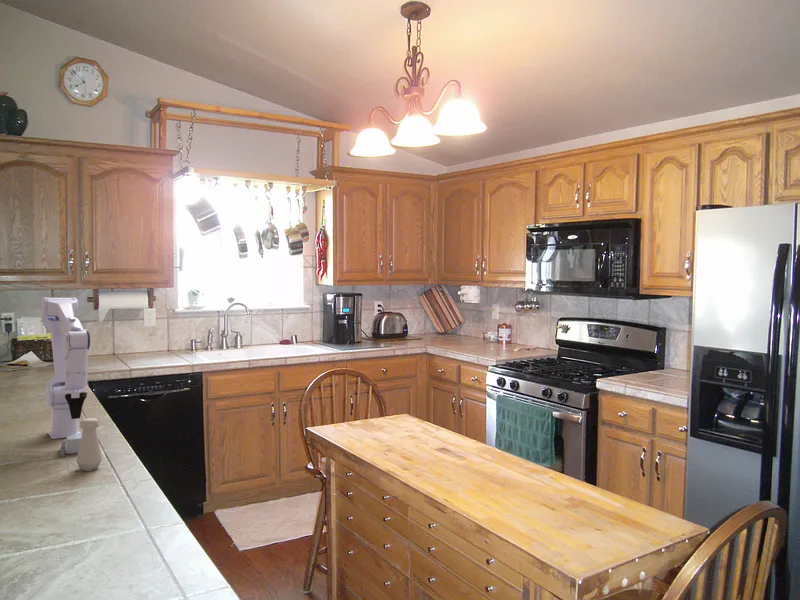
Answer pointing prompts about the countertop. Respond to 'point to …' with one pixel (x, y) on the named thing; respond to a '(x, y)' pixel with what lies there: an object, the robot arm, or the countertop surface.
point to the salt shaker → (89, 446)
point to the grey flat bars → (63, 449)
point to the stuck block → (73, 444)
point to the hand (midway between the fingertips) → (75, 418)
